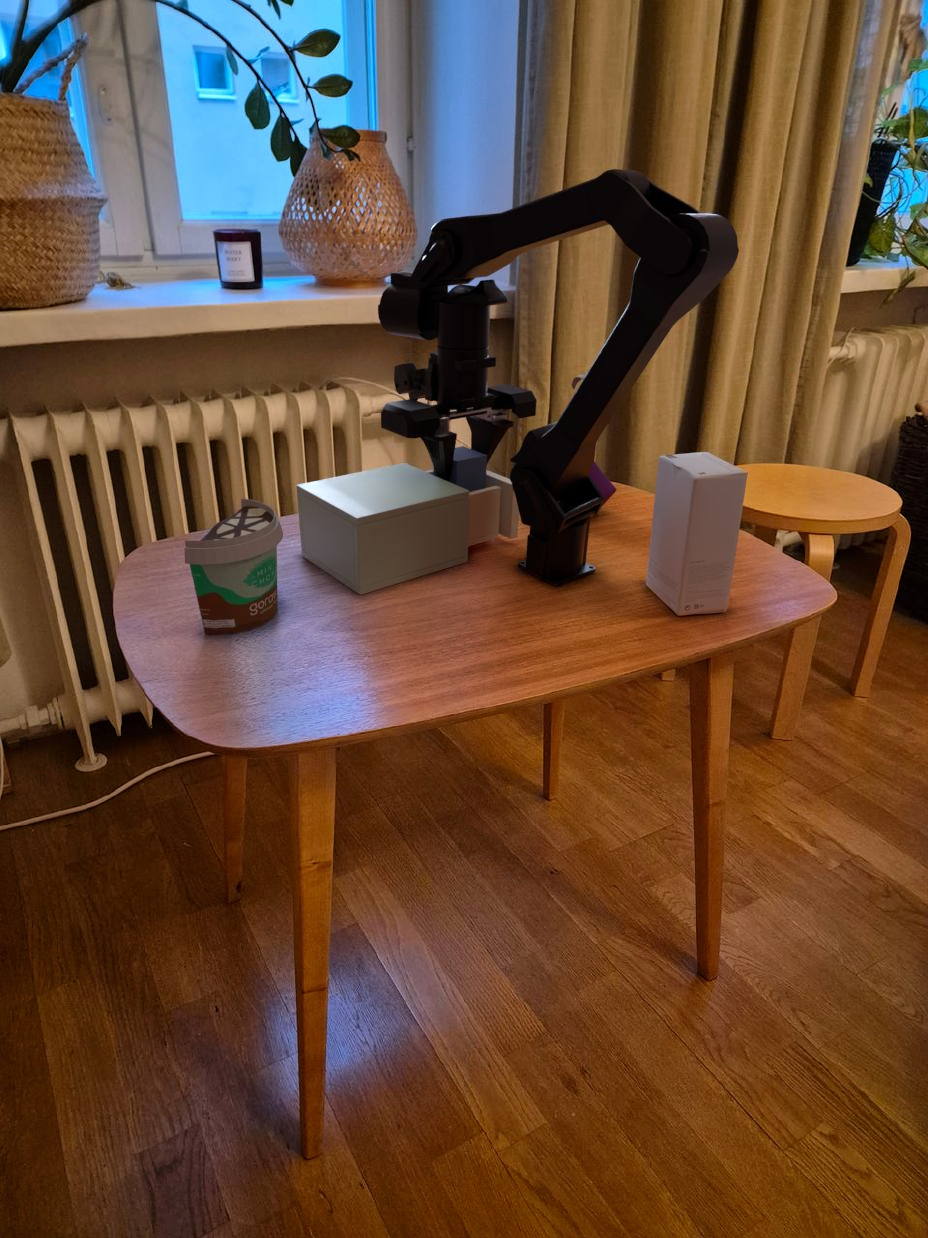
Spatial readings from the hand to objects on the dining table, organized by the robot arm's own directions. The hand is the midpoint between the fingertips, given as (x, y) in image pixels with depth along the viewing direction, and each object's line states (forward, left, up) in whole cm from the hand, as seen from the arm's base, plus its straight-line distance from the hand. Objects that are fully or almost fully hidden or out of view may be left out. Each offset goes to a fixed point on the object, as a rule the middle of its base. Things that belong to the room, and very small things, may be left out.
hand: (460, 482), depth 95 cm
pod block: (0, 0, -1) cm, 1 cm away
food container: (+29, +4, -7) cm, 30 cm away
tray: (0, 0, -6) cm, 6 cm away
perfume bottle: (-18, +2, -7) cm, 20 cm away
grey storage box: (+11, 0, -7) cm, 13 cm away
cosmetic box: (-9, +27, -7) cm, 29 cm away
